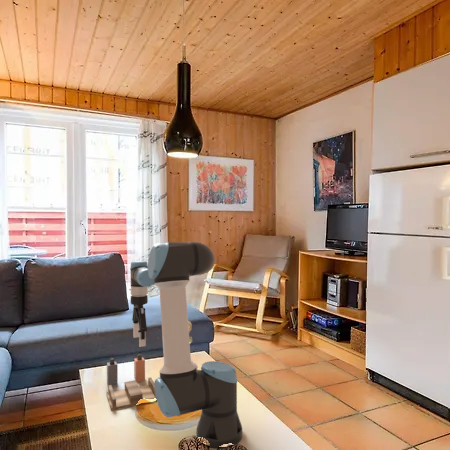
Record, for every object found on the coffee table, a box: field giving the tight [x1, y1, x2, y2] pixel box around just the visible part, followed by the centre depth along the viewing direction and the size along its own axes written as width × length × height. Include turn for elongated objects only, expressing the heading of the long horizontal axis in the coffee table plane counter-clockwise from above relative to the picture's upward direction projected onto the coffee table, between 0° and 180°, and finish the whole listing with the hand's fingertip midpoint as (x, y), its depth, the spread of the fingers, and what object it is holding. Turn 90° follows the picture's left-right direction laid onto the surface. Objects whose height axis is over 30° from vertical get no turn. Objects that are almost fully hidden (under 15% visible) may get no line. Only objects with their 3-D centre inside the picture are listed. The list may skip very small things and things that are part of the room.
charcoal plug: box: [106, 357, 119, 387], centre depth 162 cm, size 4×4×11 cm
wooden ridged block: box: [106, 377, 156, 411], centre depth 149 cm, size 14×19×4 cm
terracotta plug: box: [133, 353, 146, 383], centre depth 167 cm, size 4×4×11 cm
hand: (139, 341), depth 167 cm, fingers open, 13 cm apart
